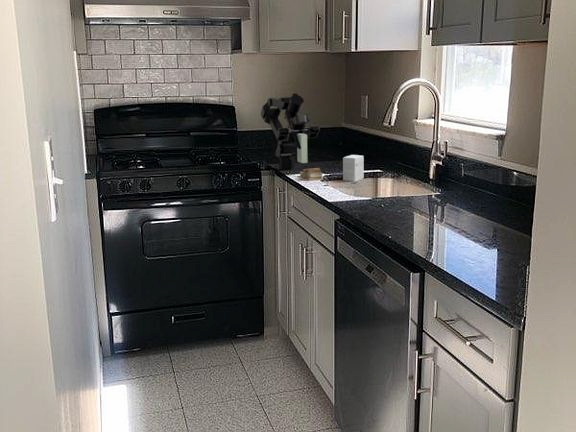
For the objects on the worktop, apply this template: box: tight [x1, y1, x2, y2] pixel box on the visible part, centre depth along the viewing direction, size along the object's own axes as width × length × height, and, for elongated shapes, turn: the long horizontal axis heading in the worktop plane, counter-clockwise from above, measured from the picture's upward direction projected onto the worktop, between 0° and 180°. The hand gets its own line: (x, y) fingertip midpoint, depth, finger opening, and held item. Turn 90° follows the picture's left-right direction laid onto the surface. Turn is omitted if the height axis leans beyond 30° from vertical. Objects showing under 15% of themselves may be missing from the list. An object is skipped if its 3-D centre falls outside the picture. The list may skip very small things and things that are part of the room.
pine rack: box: [297, 167, 324, 182], centre depth 272 cm, size 12×7×5 cm, turn 21°
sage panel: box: [296, 133, 308, 164], centre depth 277 cm, size 5×3×12 cm, turn 21°
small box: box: [342, 154, 365, 184], centre depth 266 cm, size 8×6×10 cm
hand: (303, 148), depth 276 cm, fingers closed on sage panel, 3 cm apart
